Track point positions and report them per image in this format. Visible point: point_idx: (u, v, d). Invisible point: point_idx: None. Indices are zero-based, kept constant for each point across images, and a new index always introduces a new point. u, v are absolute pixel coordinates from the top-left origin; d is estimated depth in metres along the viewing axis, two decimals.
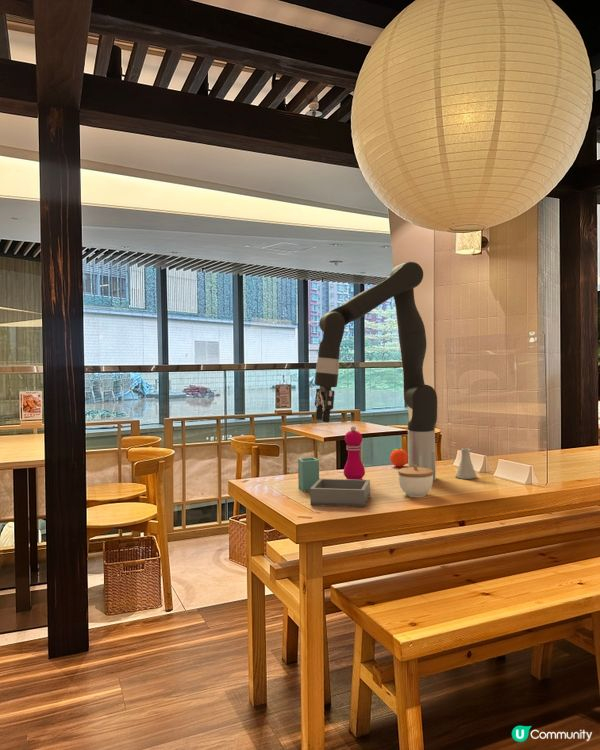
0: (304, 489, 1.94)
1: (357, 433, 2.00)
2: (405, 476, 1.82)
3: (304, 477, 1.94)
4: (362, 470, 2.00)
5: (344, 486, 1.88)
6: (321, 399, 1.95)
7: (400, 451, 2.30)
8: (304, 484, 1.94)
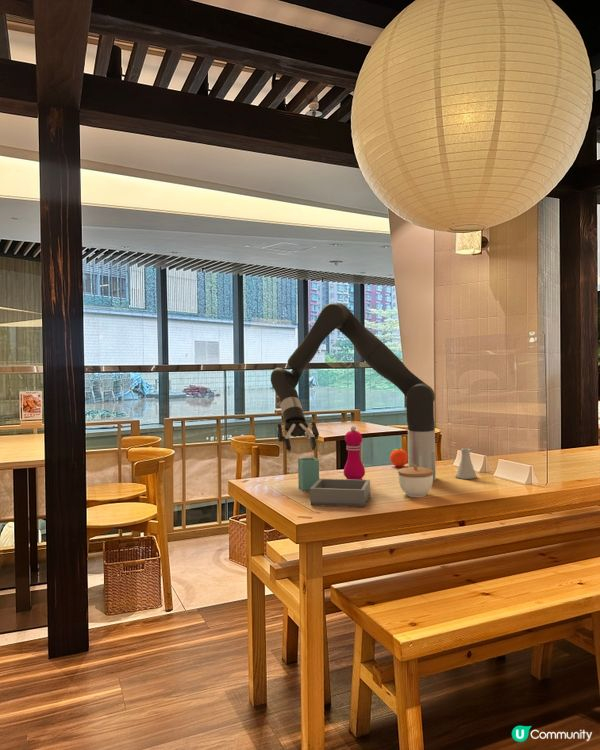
0: (304, 489, 1.94)
1: (357, 433, 2.00)
2: (405, 476, 1.82)
3: (304, 477, 1.94)
4: (362, 470, 2.00)
5: (344, 486, 1.88)
6: None
7: (400, 451, 2.30)
8: (304, 484, 1.94)
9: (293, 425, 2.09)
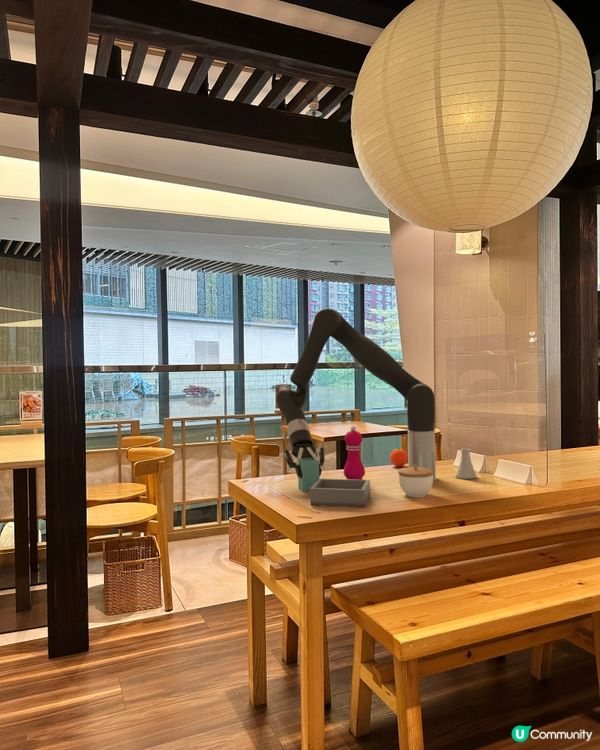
0: (304, 489, 1.94)
1: (357, 433, 2.00)
2: (405, 476, 1.82)
3: (304, 477, 1.94)
4: (362, 470, 2.00)
5: (344, 486, 1.88)
6: None
7: (400, 451, 2.30)
8: (304, 484, 1.94)
9: (300, 449, 2.00)
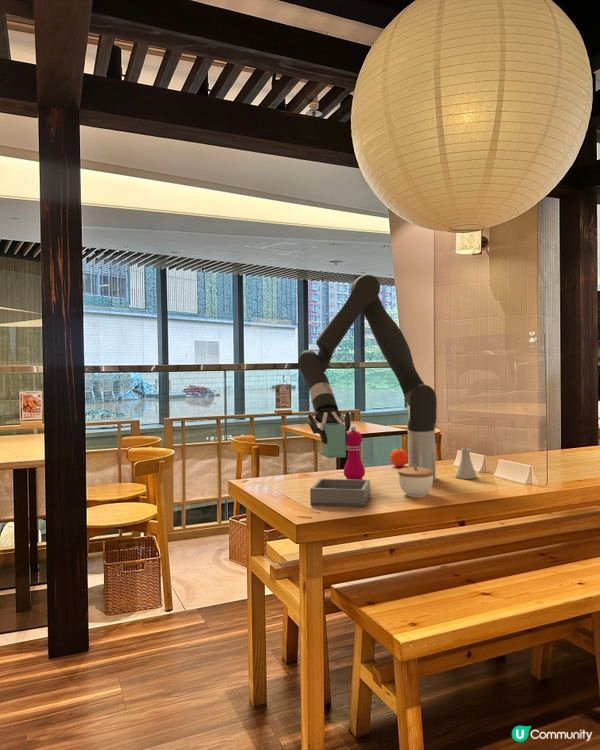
0: (329, 455, 1.81)
1: (357, 433, 2.00)
2: (405, 476, 1.82)
3: (330, 443, 1.81)
4: (362, 470, 2.00)
5: (344, 486, 1.88)
6: None
7: (400, 451, 2.30)
8: (329, 450, 1.81)
9: (325, 414, 1.87)
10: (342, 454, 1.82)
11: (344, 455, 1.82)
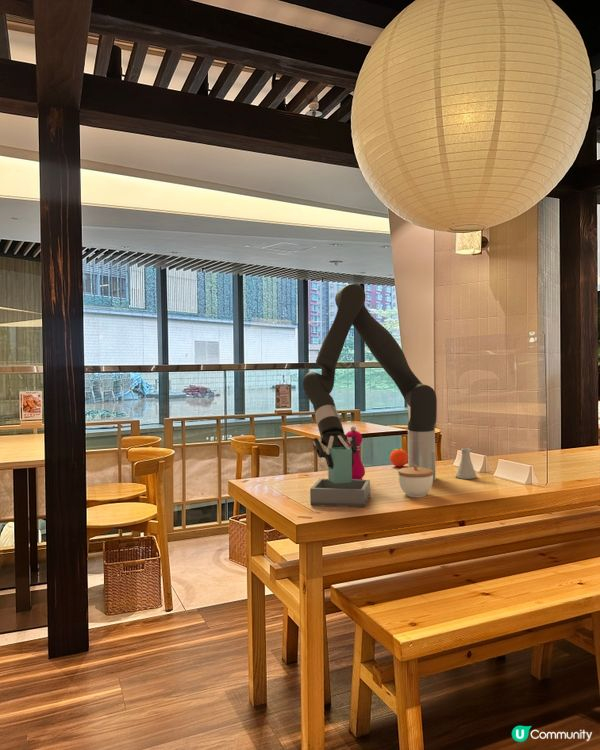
0: (335, 480, 1.78)
1: (357, 433, 2.00)
2: (405, 476, 1.82)
3: (336, 468, 1.78)
4: (362, 470, 2.00)
5: (344, 486, 1.88)
6: None
7: (400, 451, 2.30)
8: (335, 475, 1.78)
9: (331, 437, 1.84)
10: (348, 480, 1.79)
11: (350, 480, 1.79)
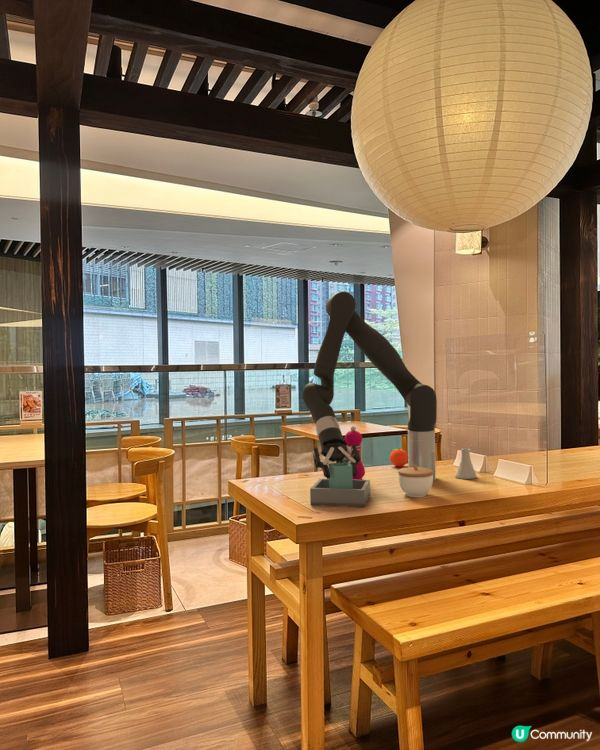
0: None
1: (357, 433, 2.00)
2: (405, 476, 1.82)
3: (337, 484, 1.78)
4: (362, 470, 2.00)
5: None
6: None
7: (400, 451, 2.30)
8: None
9: (331, 449, 1.84)
10: None
11: None
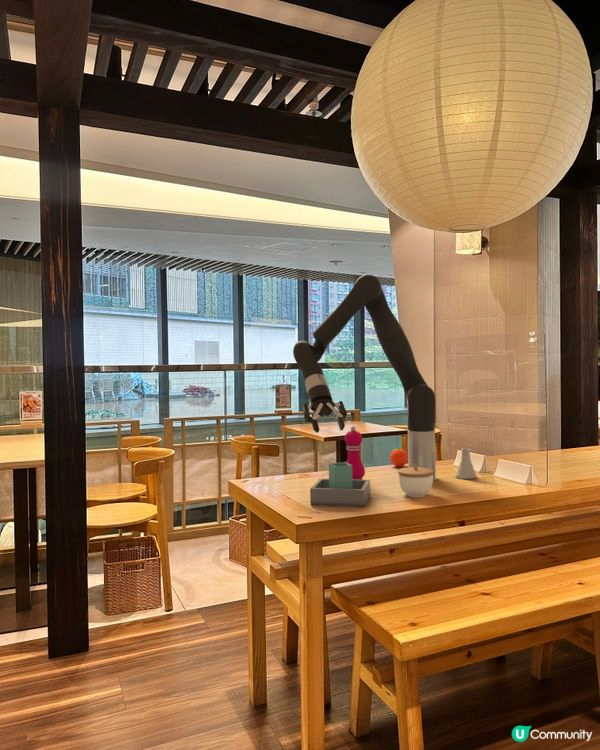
0: None
1: (357, 433, 2.00)
2: (405, 476, 1.82)
3: (337, 484, 1.78)
4: (362, 470, 2.00)
5: None
6: None
7: (400, 451, 2.30)
8: None
9: (320, 405, 1.98)
10: None
11: None
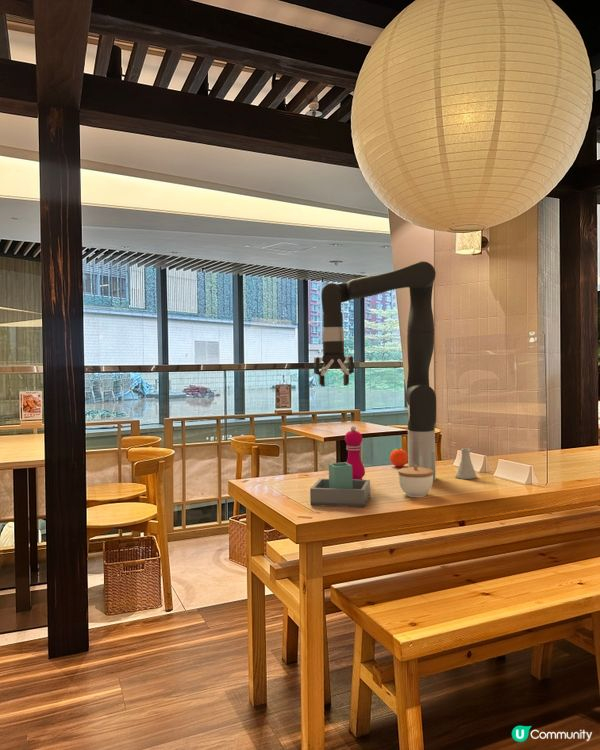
0: None
1: (357, 433, 2.00)
2: (405, 476, 1.82)
3: (337, 484, 1.78)
4: (362, 470, 2.00)
5: None
6: None
7: (400, 451, 2.30)
8: None
9: (331, 361, 2.10)
10: None
11: None
